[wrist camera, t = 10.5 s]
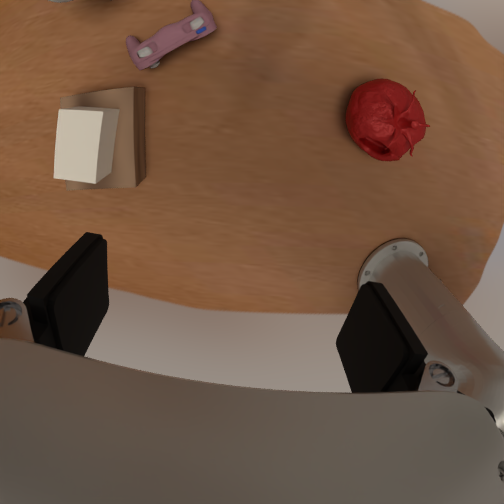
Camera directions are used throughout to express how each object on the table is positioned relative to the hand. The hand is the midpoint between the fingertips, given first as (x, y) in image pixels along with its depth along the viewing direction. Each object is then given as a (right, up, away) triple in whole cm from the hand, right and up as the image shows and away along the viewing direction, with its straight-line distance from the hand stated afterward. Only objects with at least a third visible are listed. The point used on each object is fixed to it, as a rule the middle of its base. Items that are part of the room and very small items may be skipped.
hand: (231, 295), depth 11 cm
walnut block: (-16, +16, +22) cm, 32 cm away
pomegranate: (+16, +18, +23) cm, 33 cm away
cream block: (-16, +14, +17) cm, 27 cm away
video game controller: (-8, +26, +17) cm, 32 cm away
